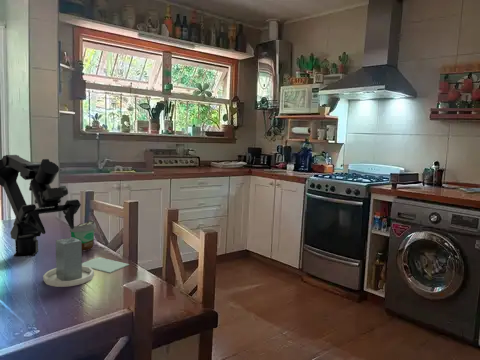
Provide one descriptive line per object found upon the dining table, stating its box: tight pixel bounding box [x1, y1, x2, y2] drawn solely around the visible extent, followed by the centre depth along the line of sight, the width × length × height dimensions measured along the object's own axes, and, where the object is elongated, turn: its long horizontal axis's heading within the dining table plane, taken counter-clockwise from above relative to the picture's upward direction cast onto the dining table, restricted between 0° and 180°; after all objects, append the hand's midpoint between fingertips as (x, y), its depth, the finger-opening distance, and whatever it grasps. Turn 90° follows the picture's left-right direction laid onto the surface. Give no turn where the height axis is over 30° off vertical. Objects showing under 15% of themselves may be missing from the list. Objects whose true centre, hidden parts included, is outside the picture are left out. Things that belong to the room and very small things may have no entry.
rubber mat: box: [82, 256, 130, 274], centre depth 134 cm, size 14×9×1 cm, turn 65°
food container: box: [69, 219, 97, 252], centre depth 153 cm, size 12×6×10 cm, turn 168°
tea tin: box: [55, 236, 83, 281], centre depth 121 cm, size 6×6×12 cm
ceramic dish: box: [42, 265, 95, 288], centre depth 122 cm, size 14×14×2 cm
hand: (59, 230), depth 126 cm, fingers open, 9 cm apart
